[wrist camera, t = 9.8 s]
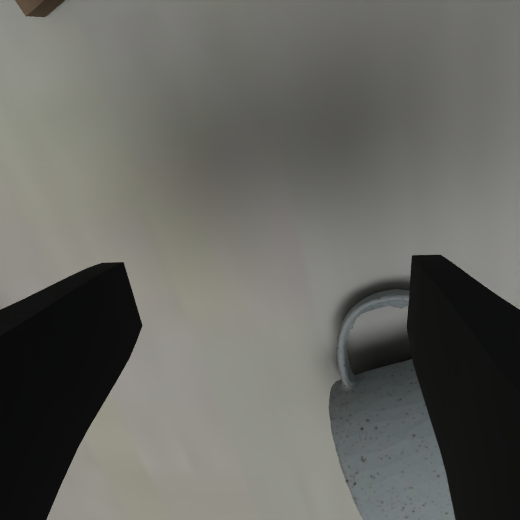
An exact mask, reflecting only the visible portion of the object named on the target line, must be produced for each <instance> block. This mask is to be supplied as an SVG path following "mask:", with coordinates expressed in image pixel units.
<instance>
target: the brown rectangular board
mask: <svg viewBox="0 0 520 520" xmlns="http://www.w3.org/2000/svg"><path fill="white" fill-rule="evenodd" d="M15 1H16V2H17V4H18V5H19V7H20V8H21V10H22V11H23V13H24V14H25V16H34V17H45V16H46V15H48V14H49V13H50V12H51V11H52V10H54V9H55V8H56V7H57V6H58V5H60V4H61V3H62V2H63V1H64V0H15Z"/></svg>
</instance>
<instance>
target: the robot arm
mask: <svg viewBox="0 0 520 520" xmlns="http://www.w3.org/2000/svg"><path fill="white" fill-rule="evenodd" d="M141 328H142V323H141V319H140V316H139V313H138V309H137V306H136V303H135V299H134V296H133V292H132V289H131V286H130V282H129V279H128V276H127V272H126V269H125V266H124V262H117V263H101V264H98V265H94V266H92V267H89V268H87V269H85V270H82V271H80V272H78V273H76V274H74V275H72V276H69V277H67V278H65V279H63V280H61V281H59V282H57V283H55V284H53V285H51V286H49V287H47V288H45V289H43V290H41V291H39V292H37V293H35V294H33V295H31V296H29V297H27V298H25V299H23V300H21V301H19V302H16V303H14V304H12V305H10V306H8V307H6V308H3V309H1V310H0V520H46V519H47V517H48V514H49V512H50V510H51V507H52V505H53V502H54V500H55V498H56V495H57V493H58V490H59V488H60V486H61V484H62V481H63V479H64V477H65V475H66V473H67V470H68V468H69V466H70V464H71V462H72V460H73V457H74V455H75V453H76V451H77V449H78V447H79V445H80V443H81V441H82V439H83V437H84V436H85V434H86V432H87V430H88V428H89V427H90V425H91V423H92V422H93V420H94V418H95V416H96V415H97V413H98V411H99V410H100V408H101V406H102V405H103V403H104V401H105V400H106V398H107V396H108V394H109V393H110V391H111V389H112V388H113V386H114V384H115V383H116V381H117V379H118V377H119V376H120V374H121V372H122V370H123V369H124V367H125V365H126V363H127V362H128V360H129V358H130V356H131V353H132V351H133V349H134V346H135V344H136V341H137V339H138V336H139V333H140V330H141ZM407 331H408V337H409V343H410V349H411V355H412V360H413V365H414V369H415V372H416V375H417V378H418V382H419V385H420V388H421V392H422V395H423V398H424V401H425V404H426V408H427V411H428V414H429V417H430V420H431V424H432V427H433V430H434V433H435V436H436V439H437V443H438V446H439V449H440V453H441V456H442V460H443V464H444V468H445V471H446V476H447V481H448V486H449V491H450V496H451V501H452V505H453V510H454V515H455V520H520V310H519V309H518V308H516V307H515V306H513V305H511V304H510V303H508V302H507V301H505V300H504V299H502V298H501V297H499V296H498V295H496V294H495V293H493V292H492V291H491V290H489V289H488V288H486V287H485V286H483V285H482V284H481V283H479V282H478V281H476V280H475V279H474V278H472V277H471V276H470V275H468V274H467V273H465V272H464V271H463V270H461V269H460V268H459V267H457V266H456V265H455V264H453V263H452V262H450V261H449V260H448V259H446V258H445V257H443V256H441V255H412V263H411V277H410V291H409V305H408V320H407Z"/></svg>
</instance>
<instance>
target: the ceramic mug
mask: <svg viewBox="0 0 520 520" xmlns="http://www.w3.org/2000/svg"><path fill="white" fill-rule="evenodd" d="M409 291H410V290H402V289H391V290H385V291H381V292H378V293H374V294H372V295H369V296H368V297H366V298H364V299H362V300H360V301H359V302H358V303H357V304H356V305H355V306H354V307H352V308H351V310H350V311H349V312H348V313H347V315H346V317H345V318H344V320H343V323H342V325H341V327H340V330H339V333H338V337H337V347H336V352H337V363H338V368H339V373H340V377H341V380H338V381H336V382H335V383H334V384H333V386H332V388H331V392H330V399H329V415H330V421H331V430H332V435H333V439H334V443H335V447H336V452H337V454H338V457H339V463H340V466H341V469H342V472H343V474H344V477H345V480H346V483H347V485H348V487H349V489H350V492H351V495H352V498H353V500H354V502H355V504H356V506H357V508H358V511H359V513H360V515H361V516H362V518H363V520H455V515H454V510H453V505H452V501H451V496H450V491H449V486H448V481H447V476H446V471H445V468H444V464H443V460H442V456H441V453H440V449H439V446H438V443H437V439H436V436H435V433H434V430H433V427H432V424H431V420H430V417H429V414H428V411H427V408H426V404H425V401H424V398H423V395H422V392H421V388H420V385H419V382H418V378H417V375H416V372H415V369H414V365H413V360H412V359H410V360H407V361H403V362H399V363H395V364H391V365H387V366H383V367H380V368H376V369H373V370H370V371H367V372H363V373H360V374H357V375H354V374H353V373H352V371H351V367H350V364H349V359H348V354H347V337H348V335H349V332H350V329H352V327H353V324H354V322H355V320H356V318H357V317H358V316H359V315H360V314H362V313H364V312H367V311H370V310H373V309H377V308H381V307H384V306H393V307H397V308H403V307H405V306H408V305H409Z"/></svg>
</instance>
